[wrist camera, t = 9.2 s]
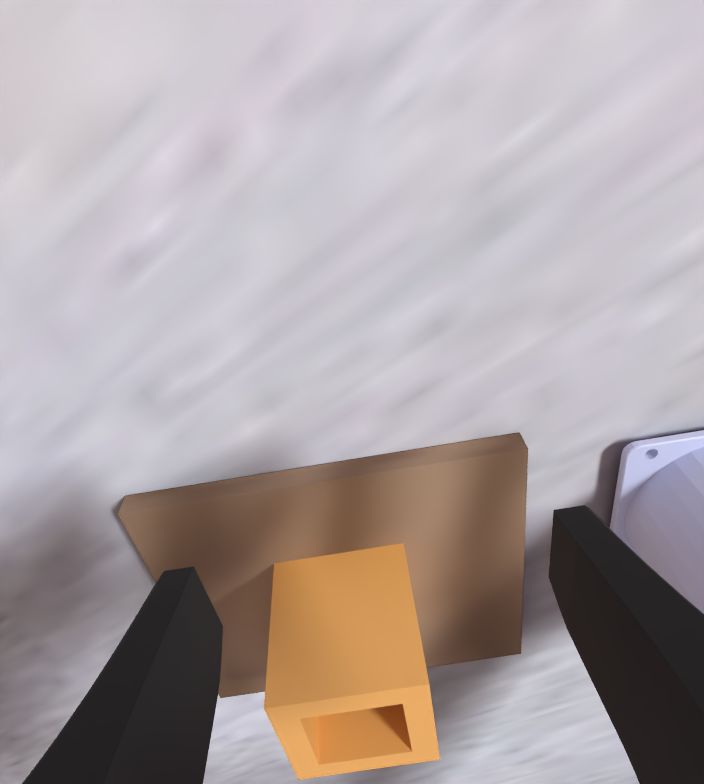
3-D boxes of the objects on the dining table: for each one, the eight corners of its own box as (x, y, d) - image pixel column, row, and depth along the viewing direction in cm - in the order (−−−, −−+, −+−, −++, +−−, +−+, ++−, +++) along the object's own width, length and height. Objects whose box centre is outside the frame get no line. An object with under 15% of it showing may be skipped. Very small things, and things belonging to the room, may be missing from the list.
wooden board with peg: (519, 432, 21) (576, 540, 17) (514, 635, 29) (552, 748, 24) (125, 496, 22) (75, 618, 17) (223, 679, 30) (207, 797, 25)
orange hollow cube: (403, 543, 23) (429, 684, 18) (415, 620, 26) (440, 759, 21) (273, 563, 23) (264, 708, 18) (300, 637, 26) (298, 779, 21)
